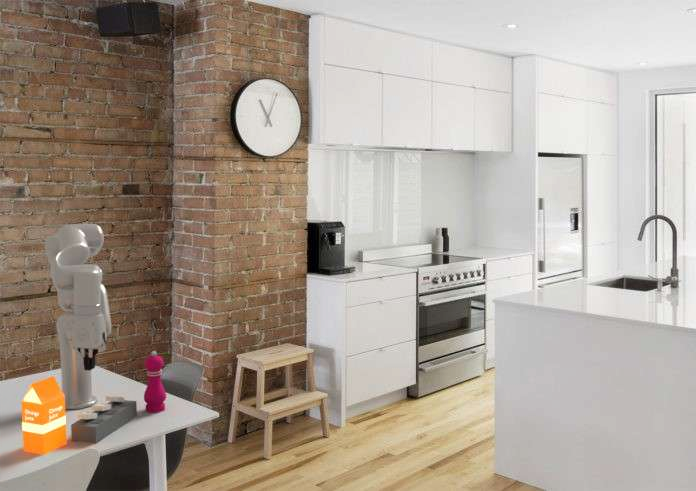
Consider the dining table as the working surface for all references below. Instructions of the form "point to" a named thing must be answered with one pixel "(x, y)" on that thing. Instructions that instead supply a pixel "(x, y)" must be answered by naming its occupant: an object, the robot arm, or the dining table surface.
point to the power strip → (104, 422)
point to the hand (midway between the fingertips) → (89, 369)
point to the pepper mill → (154, 384)
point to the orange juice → (43, 417)
